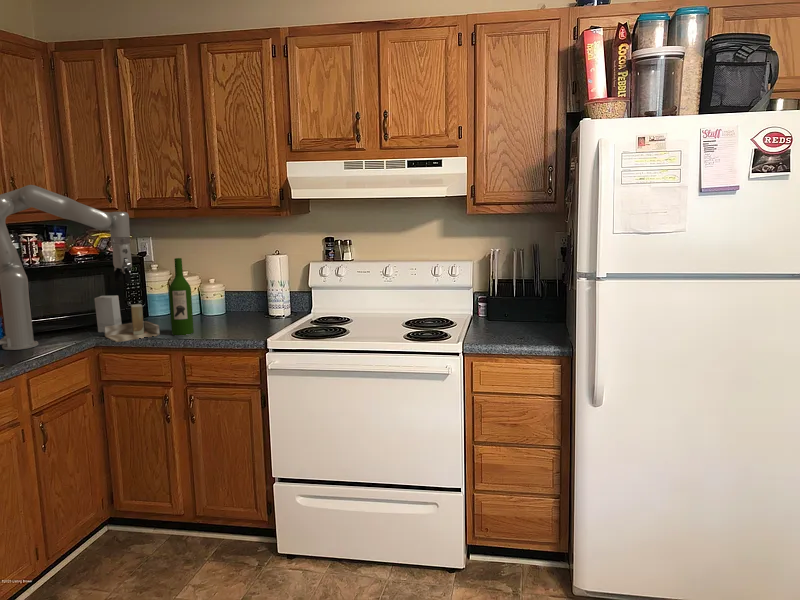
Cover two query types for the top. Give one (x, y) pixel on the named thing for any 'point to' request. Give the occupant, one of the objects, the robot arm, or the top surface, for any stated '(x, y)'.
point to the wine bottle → (180, 302)
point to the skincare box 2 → (137, 319)
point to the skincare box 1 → (107, 311)
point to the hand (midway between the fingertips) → (122, 281)
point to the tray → (130, 331)
